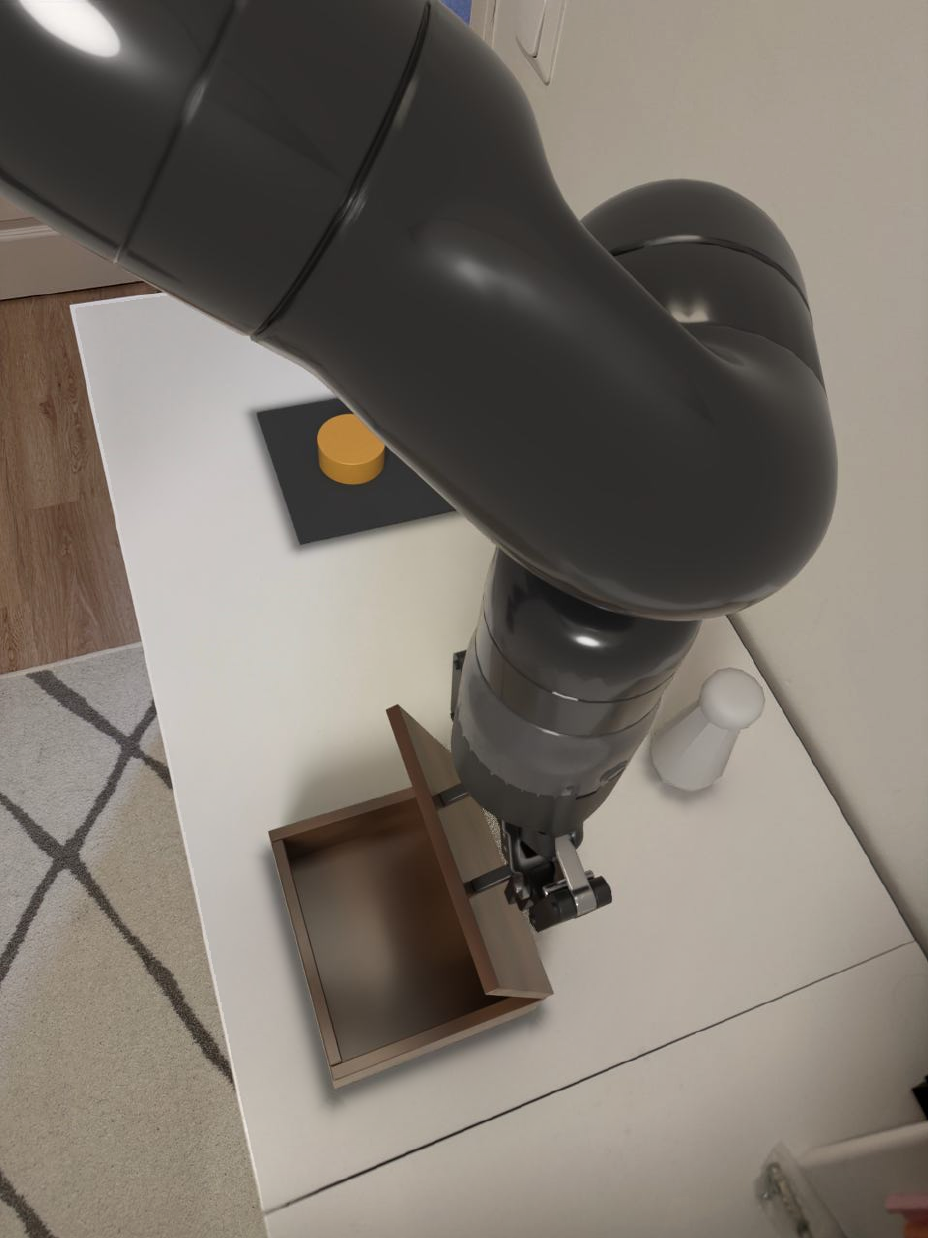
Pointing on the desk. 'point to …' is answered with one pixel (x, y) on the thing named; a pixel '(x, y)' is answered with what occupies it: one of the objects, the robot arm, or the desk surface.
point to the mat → (331, 504)
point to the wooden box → (381, 938)
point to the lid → (470, 866)
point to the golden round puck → (349, 450)
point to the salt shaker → (707, 730)
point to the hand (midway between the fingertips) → (501, 836)
